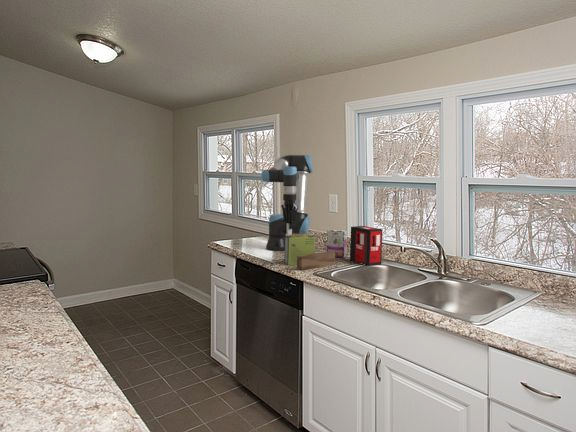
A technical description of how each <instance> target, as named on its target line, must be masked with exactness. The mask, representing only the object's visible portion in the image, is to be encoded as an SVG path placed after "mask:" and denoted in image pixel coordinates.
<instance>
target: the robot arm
mask: <svg viewBox="0 0 576 432" xmlns="http://www.w3.org/2000/svg"><path fill="white" fill-rule="evenodd" d="M312 160H313V159H312V156H311V155H308V154H287V155H284V156H281V157H278V158H277V159H276V160H275V161H274V164H273V165H272V166H271V167H270V168H269V169H267V168H266V169H263V170H262V172H261V180H262V182H264V183H282V185H283V189H282V193H283V197H282V200H283V204H282V205H280V206H281V210H282V213H277V214H271V215H270V216H269V218H268V239H267V242H266V245H265V249H266V250H267V249H268V251H273V250H275V251H276V252H277V251H280V252H282V251H285V235H307V233H308V232H309V228H310V224H311V223H310V222H311V217H310V216H309V214H308V212H307V211H306V210H307V199H308V181H309V177H310V176H311V173H314V171H313V170H314V168H313V161H312Z"/></svg>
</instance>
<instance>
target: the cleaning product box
mask: <svg viewBox="0 0 576 432" xmlns="http://www.w3.org/2000/svg"><path fill="white" fill-rule="evenodd" d="M349 245H350V246H349V247H350V248H349V249H350V250H349V261H350V262H352V261H353V262H352V263H356V262H357V263H356V264H359V263H362V264H361V265H363V264H365V265H364V266H367V267H373V266H381V265H382V257H383V256H382V251H383V248H382V247H383V228H378V227H371V226H365V225H357V226H350V243H349Z"/></svg>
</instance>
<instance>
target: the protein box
mask: <svg viewBox="0 0 576 432" xmlns="http://www.w3.org/2000/svg"><path fill="white" fill-rule="evenodd" d="M315 253H316V237H315V236H314V235H312V234H291V235H287V234H286V235H285V250H284V258H283V259H284V263H285V264H286V265H287V266H297V256H300V255H307V254H315Z"/></svg>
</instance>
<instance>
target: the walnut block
mask: <svg viewBox="0 0 576 432" xmlns="http://www.w3.org/2000/svg"><path fill="white" fill-rule="evenodd" d="M335 265H336V257H335V252H330V251H329V252H327V251H323V252H315V254H307V255H300V256H297V265H296V269H297V270H298V271H306V270H314V269H317V268H323V267H325V268H326V267H330V266H335Z"/></svg>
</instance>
